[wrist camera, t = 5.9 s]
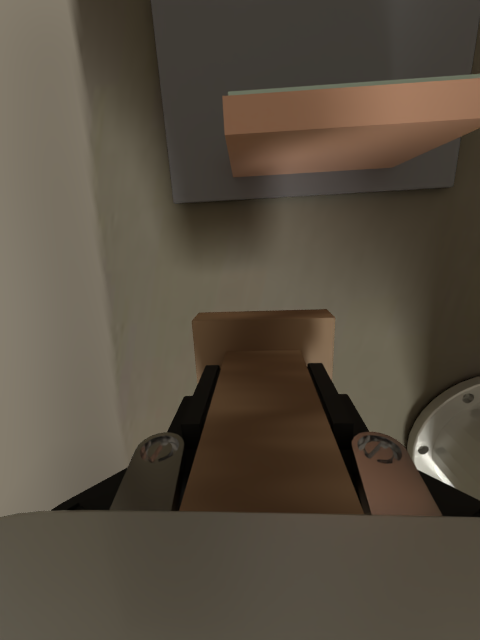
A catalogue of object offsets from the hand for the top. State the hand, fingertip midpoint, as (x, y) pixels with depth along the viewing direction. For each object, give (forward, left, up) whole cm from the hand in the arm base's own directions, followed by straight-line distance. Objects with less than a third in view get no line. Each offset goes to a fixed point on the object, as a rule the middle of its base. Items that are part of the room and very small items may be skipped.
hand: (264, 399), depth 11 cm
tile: (-4, -11, -10) cm, 15 cm away
